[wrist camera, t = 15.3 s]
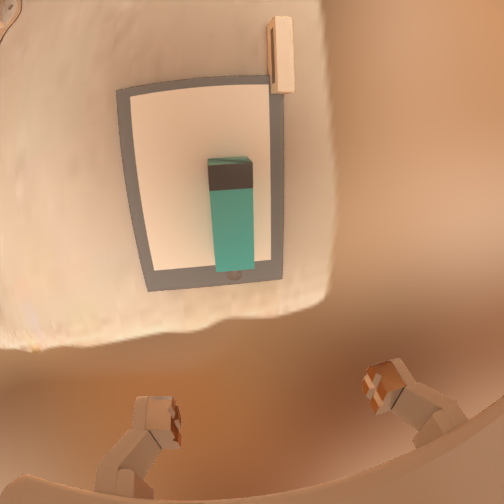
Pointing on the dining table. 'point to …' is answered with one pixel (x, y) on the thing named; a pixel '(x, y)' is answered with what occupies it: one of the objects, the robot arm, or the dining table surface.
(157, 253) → the writing board
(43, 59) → the dining table surface
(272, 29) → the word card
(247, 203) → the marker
